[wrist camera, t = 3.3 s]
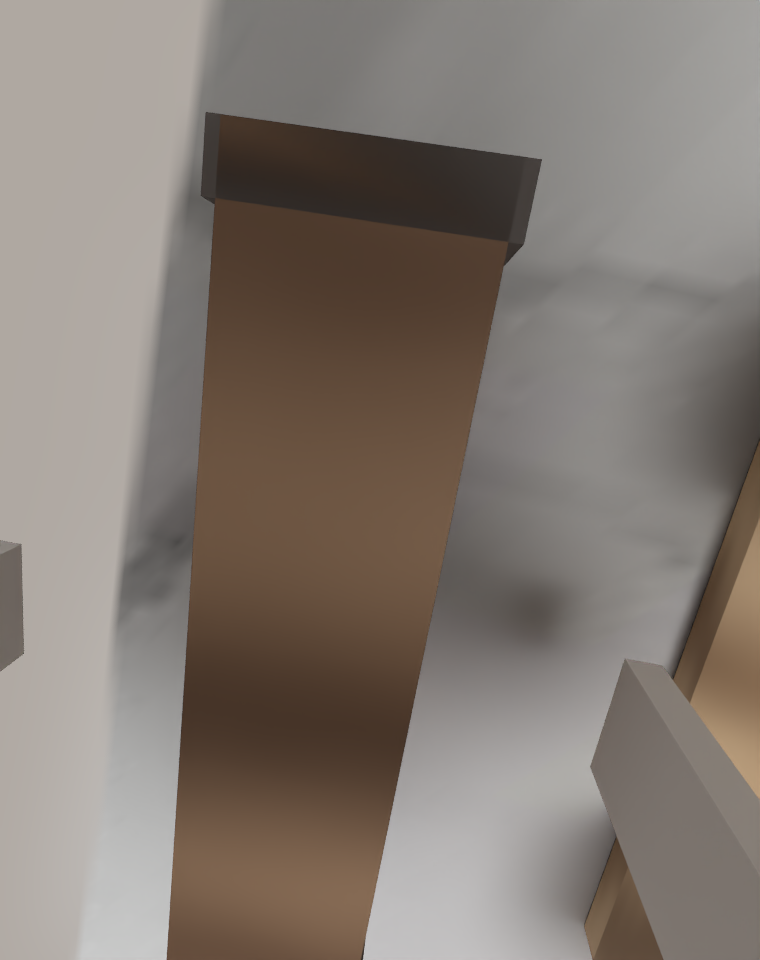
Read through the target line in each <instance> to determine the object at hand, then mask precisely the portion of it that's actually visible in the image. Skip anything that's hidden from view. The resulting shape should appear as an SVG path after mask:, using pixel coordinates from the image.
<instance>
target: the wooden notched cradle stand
mask: <svg viewBox="0 0 760 960" xmlns="http://www.w3.org/2000/svg"><path fill="white" fill-rule="evenodd" d="M673 681H674V682H675V684H676V685H677V687H678V688H679V689H680V691H681V692H682V693H683V695H684V696H685V698H686V699H687V700H688V702H689V703H690V705H691V706H692V707H693V709H694V710H695V711H696V713H697V714H698V716H699V717H700V718H701V720H702V721H703V722H704V724H705V725H706V727H707V728H708V729H709V731H710V732H711V734H712V735H713V736H714V738H715V739H716V740H717V742H718V743H719V745H720V746H721V747H722V749H723V750H724V751H725V753H726V754H727V756H728V757H729V758H730V760H731V761H732V763H733V764H734V765H735V767H736V768H737V769H738V771H739V772H740V774H741V775H742V776H743V778H744V779H745V780H746V782H747V783H748V785H749V786H750V787H751V789H752V790H753V792H754V793H755V794H756V796H757V797H758V798H759V800H760V441H759V443H758V446H757V449H756V452H755V455H754V457H753V460H752V463H751V466H750V468H749V471H748V474H747V477H746V479H745V482H744V485H743V488H742V491H741V493H740V496H739V499H738V502H737V504H736V507H735V510H734V513H733V515H732V518H731V521H730V524H729V527H728V529H727V532H726V535H725V538H724V540H723V543H722V546H721V549H720V551H719V554H718V557H717V560H716V563H715V565H714V568H713V571H712V574H711V576H710V579H709V582H708V585H707V588H706V590H705V593H704V596H703V599H702V601H701V604H700V607H699V610H698V612H697V615H696V618H695V621H694V624H693V626H692V629H691V632H690V635H689V637H688V640H687V643H686V646H685V648H684V651H683V654H682V657H681V660H680V662H679V665H678V668H677V671H676V673H675V676H674V679H673ZM584 927H585V931H586V935H587V939H588V943H589V947H590V951H591V955H592V959H593V960H663V957H662V954H661V952H660V949H659V946H658V944H657V941H656V938H655V936H654V933H653V931H652V928H651V925H650V923H649V920H648V917H647V915H646V912H645V909H644V907H643V904H642V902H641V899H640V896H639V894H638V891H637V888H636V886H635V883H634V881H633V878H632V875H631V873H630V870H629V867H628V865H627V862H626V859H625V857H624V854H623V852H622V849H621V846H620V844H619V841H618V838H617V837H616V840H615V842H614V845H613V848H612V851H611V854H610V856H609V859H608V862H607V865H606V867H605V870H604V873H603V876H602V878H601V881H600V884H599V887H598V890H597V892H596V895H595V898H594V901H593V903H592V906H591V909H590V912H589V914H588V917H587V920H586V923H585V926H584Z"/></svg>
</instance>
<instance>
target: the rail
mask: <svg viewBox="0 0 760 960" xmlns="http://www.w3.org/2000/svg"><path fill="white" fill-rule="evenodd" d="M541 161H542V159H535V158H528V157H521V156H514V155H507V154H500V153H492V152H485V151H478V150H471V149H464V148H457V147H450V146H443V145H436V144H429V143H421V142H414V141H407V140H400V139H393V138H386V137H379V136H372V135H365V134H358V133H350V132H343V131H336V130H329V129H322V128H315V127H308V126H301V125H294V124H286V123H279V122H272V121H265V120H258V119H251V118H244V117H237V116H230V115H223V114H215V113H208V112H206V116H205V133H204V151H203V169H202V186H201V196H202V197H204V198H205V199H207V200H209V201H210V202H212V203H214V204H215V208H214V223H213V239H212V255H211V271H210V286H209V302H208V318H207V334H206V349H205V365H204V381H203V396H202V412H201V428H200V444H199V459H198V475H197V491H196V507H195V522H194V538H193V554H192V570H191V585H190V601H189V617H188V632H187V648H186V664H185V680H184V695H183V711H182V727H181V743H180V758H179V774H178V790H177V806H176V821H175V837H174V853H173V869H172V884H171V900H170V916H169V931H168V947H167V960H363V954H364V946H365V937H366V932H367V927H368V922H369V917H370V913H371V908H372V903H373V898H374V893H375V888H376V883H377V879H378V874H379V869H380V864H381V859H382V854H383V849H384V845H385V840H386V835H387V830H388V825H389V820H390V815H391V811H392V806H393V801H394V796H395V791H396V786H397V781H398V777H399V772H400V767H401V762H402V757H403V752H404V747H405V743H406V738H407V733H408V728H409V723H410V718H411V713H412V709H413V704H414V699H415V694H416V689H417V684H418V679H419V675H420V670H421V665H422V660H423V655H424V650H425V645H426V641H427V636H428V631H429V626H430V621H431V616H432V611H433V607H434V602H435V597H436V592H437V587H438V582H439V577H440V573H441V568H442V563H443V558H444V553H445V548H446V543H447V539H448V534H449V529H450V524H451V519H452V514H453V509H454V505H455V500H456V495H457V490H458V485H459V480H460V475H461V471H462V466H463V461H464V456H465V451H466V446H467V441H468V437H469V432H470V427H471V422H472V417H473V412H474V407H475V403H476V398H477V393H478V388H479V383H480V378H481V373H482V369H483V364H484V359H485V354H486V349H487V344H488V339H489V335H490V330H491V325H492V320H493V315H494V310H495V305H496V301H497V296H498V291H499V286H500V281H501V276H502V271H503V267H504V265H505V264H506V263H507V262H508V261H509V260H510V259H511V258H512V257H513V256H514V254H515V253H516V252H517V251H518V250H519V249H520V248H521V247H522V246H523V245H524V241H525V236H526V231H527V227H528V222H529V217H530V213H531V208H532V203H533V199H534V194H535V189H536V185H537V180H538V175H539V171H540V166H541Z"/></svg>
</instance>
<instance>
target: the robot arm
mask: <svg viewBox="0 0 760 960" xmlns="http://www.w3.org/2000/svg"><path fill="white" fill-rule="evenodd" d="M22 601H23V596H22V554H21V544H17V543H12V542H5V541H1V540H0V671H2V670H3V669H4V668H6V667H7V666H8V665H10V664H11V663H12V662H13V661H15V660H16V659H17V658H19V657H20V656H21V655H22V654H24V643H23V642H24V639H23V602H22ZM590 767H591V770H592V773H593V775H594V778H595V780H596V783H597V786H598V788H599V791H600V794H601V796H602V799H603V802H604V804H605V807H606V809H607V812H608V815H609V817H610V820H611V823H612V825H613V828H614V831H615V833H616V836H617V838H618V841H619V844H620V846H621V849H622V852H623V854H624V857H625V859H626V862H627V865H628V867H629V870H630V873H631V875H632V878H633V881H634V883H635V886H636V888H637V891H638V894H639V896H640V899H641V902H642V904H643V907H644V909H645V912H646V915H647V917H648V920H649V923H650V925H651V928H652V931H653V933H654V936H655V938H656V941H657V944H658V946H659V949H660V952H661V954H662V957H663V960H760V800H759V798H758V797H757V796H756V794H755V793H754V792H753V790H752V789H751V787H750V786H749V785H748V783H747V782H746V780H745V779H744V778H743V776H742V775H741V774H740V772H739V771H738V769H737V768H736V767H735V765H734V764H733V763H732V761H731V760H730V758H729V757H728V756H727V754H726V753H725V751H724V750H723V749H722V747H721V746H720V745H719V743H718V742H717V740H716V739H715V738H714V736H713V735H712V734H711V732H710V731H709V729H708V728H707V727H706V725H705V724H704V722H703V721H702V720H701V718H700V717H699V716H698V714H697V713H696V711H695V710H694V709H693V707H692V706H691V705H690V703H689V702H688V700H687V699H686V698H685V696H684V695H683V693H682V692H681V691H680V689H679V688H678V687H677V685H676V684H675V682H674V681H673V680H672V678H671V677H670V676H669V674H668V673H667V671H666V670H665V669H664V667H663V666H661V665H656V664H651V663H645V662H640V661H635V660H630V659H625V660H624V663H623V666H622V670H621V673H620V676H619V679H618V682H617V685H616V688H615V691H614V695H613V698H612V701H611V704H610V707H609V710H608V713H607V716H606V719H605V723H604V726H603V729H602V732H601V735H600V738H599V741H598V744H597V748H596V751H595V754H594V757H593V760H592V763H591V766H590Z"/></svg>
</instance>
